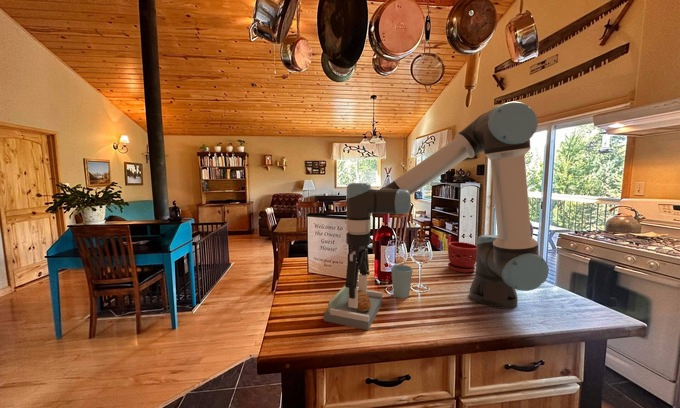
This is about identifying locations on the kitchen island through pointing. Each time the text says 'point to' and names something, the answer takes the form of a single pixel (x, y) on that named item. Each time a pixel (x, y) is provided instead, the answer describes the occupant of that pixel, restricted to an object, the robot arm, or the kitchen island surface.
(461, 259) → the plant pot
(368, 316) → the dock
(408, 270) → the cup
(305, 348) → the kitchen island surface
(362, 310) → the pastry
